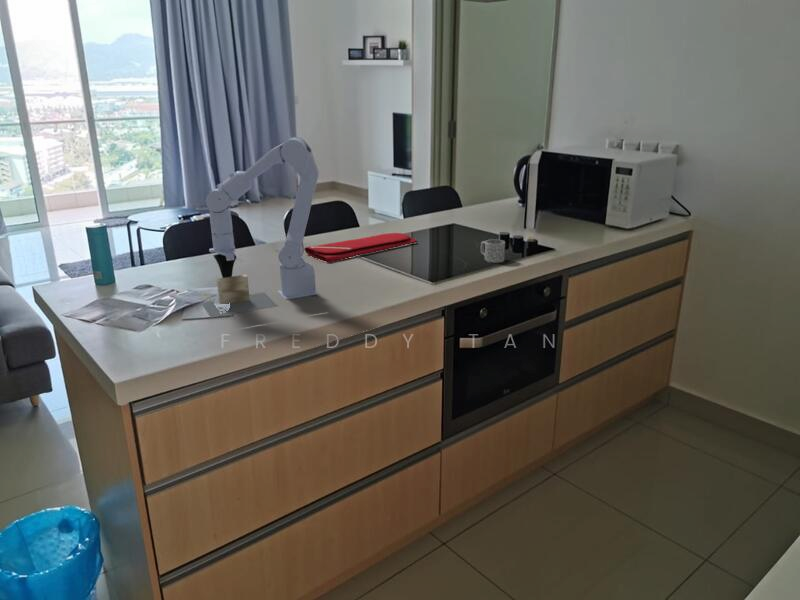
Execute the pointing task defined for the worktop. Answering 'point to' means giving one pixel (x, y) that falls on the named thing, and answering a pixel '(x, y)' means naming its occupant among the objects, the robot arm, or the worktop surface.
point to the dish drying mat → (357, 246)
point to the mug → (493, 250)
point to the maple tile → (233, 289)
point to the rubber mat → (241, 305)
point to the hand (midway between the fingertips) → (227, 278)
